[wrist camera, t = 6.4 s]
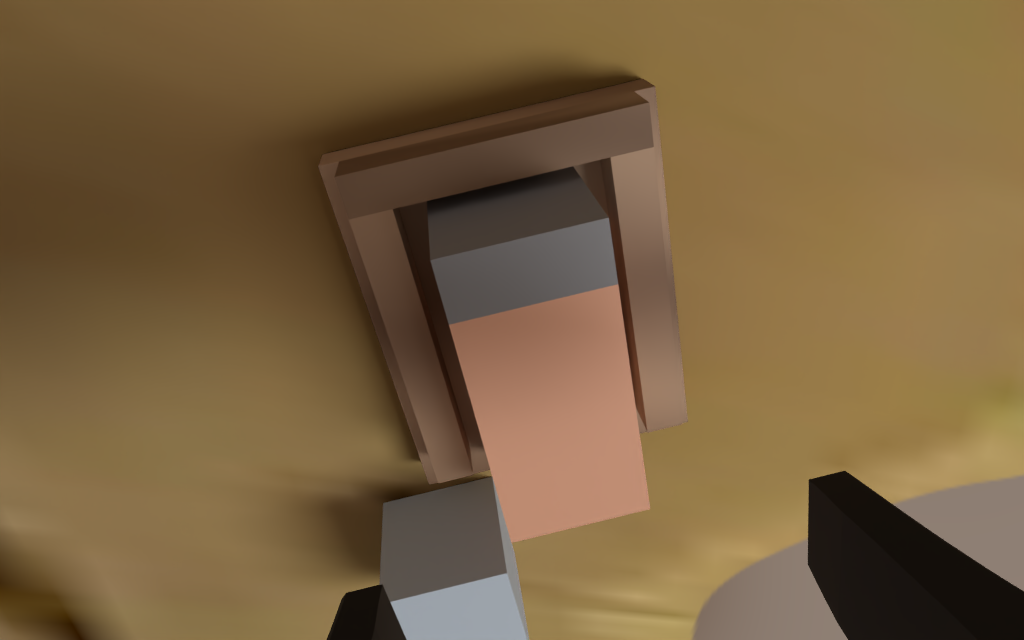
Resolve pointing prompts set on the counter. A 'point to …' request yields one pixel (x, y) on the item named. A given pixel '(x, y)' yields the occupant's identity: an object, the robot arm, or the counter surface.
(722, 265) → the counter surface
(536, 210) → the two-tone peach block
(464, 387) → the jig
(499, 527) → the pale blue-grey cube
